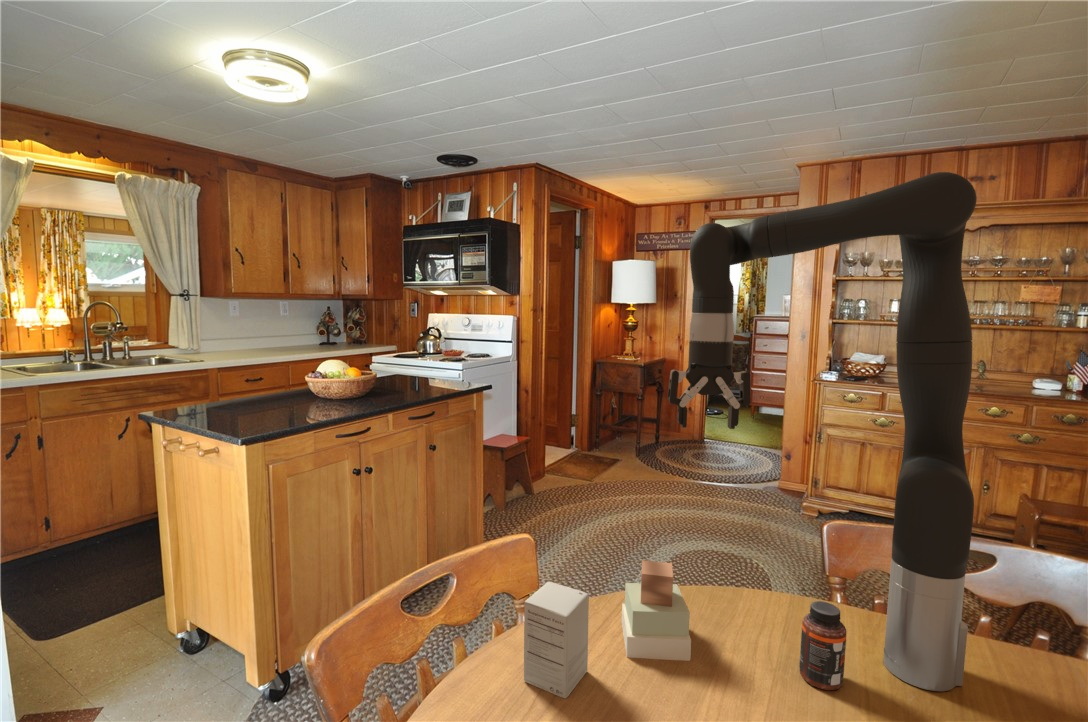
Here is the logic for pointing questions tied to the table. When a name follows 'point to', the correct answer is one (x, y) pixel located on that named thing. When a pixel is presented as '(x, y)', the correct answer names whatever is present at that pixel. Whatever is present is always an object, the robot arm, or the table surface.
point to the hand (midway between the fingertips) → (707, 427)
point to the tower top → (656, 614)
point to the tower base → (654, 644)
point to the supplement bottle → (823, 646)
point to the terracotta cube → (656, 583)
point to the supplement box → (556, 638)
